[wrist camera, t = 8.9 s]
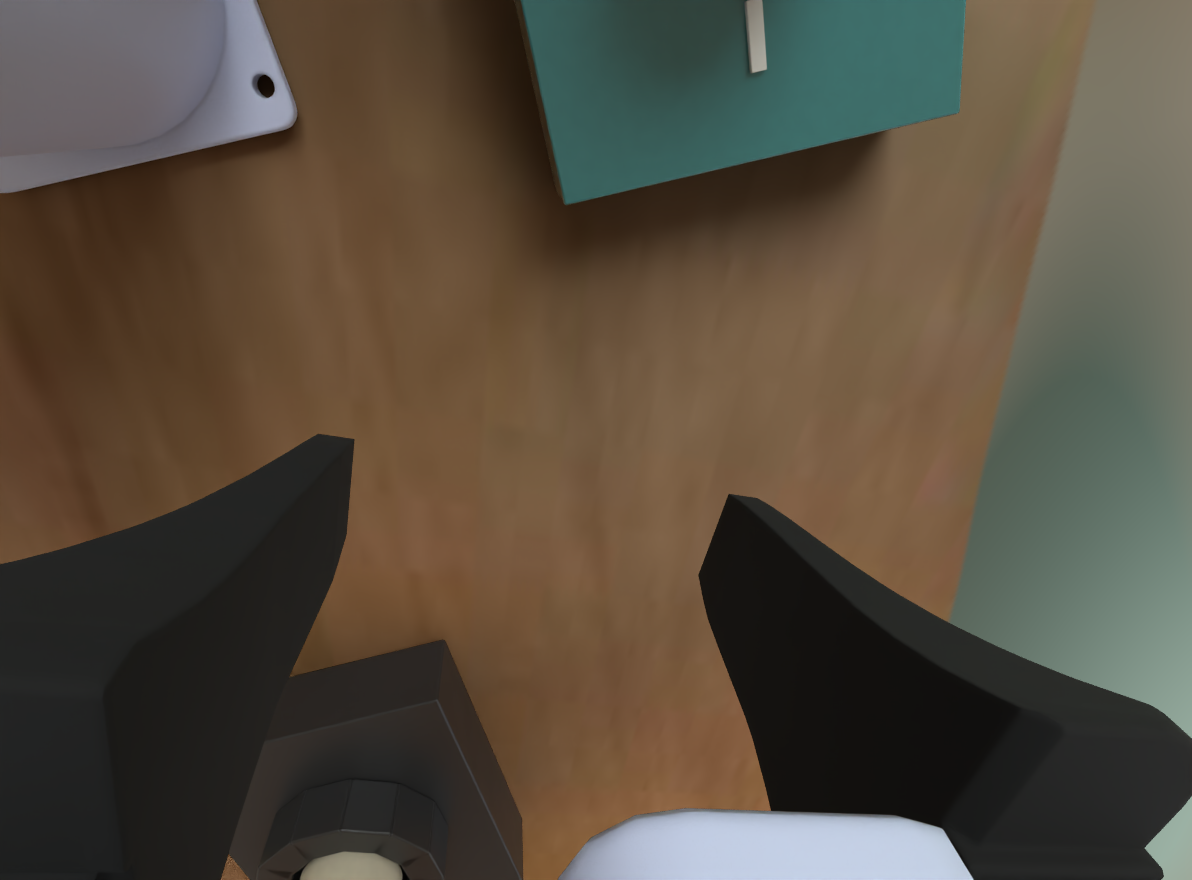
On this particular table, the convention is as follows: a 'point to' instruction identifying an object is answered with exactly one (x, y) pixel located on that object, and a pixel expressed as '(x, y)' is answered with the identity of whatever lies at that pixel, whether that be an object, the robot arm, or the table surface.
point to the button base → (380, 775)
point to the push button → (352, 867)
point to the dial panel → (727, 81)
